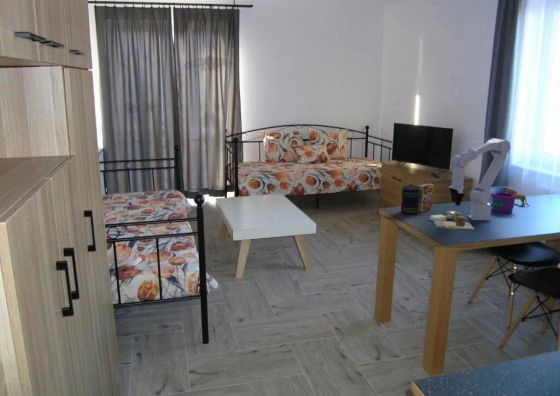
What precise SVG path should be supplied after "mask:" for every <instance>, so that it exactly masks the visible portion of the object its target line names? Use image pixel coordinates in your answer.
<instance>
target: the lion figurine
mask: <svg viewBox="0 0 560 396" xmlns="http://www.w3.org/2000/svg"><path fill="white" fill-rule="evenodd" d="M504 192H505V193H511V194H514V195H515V200H519V201H520V202H521V205H522V207H525V206H526V205H527V206H530V204H528V203H527V198H526V197H527V196H526V195H525V194H523V193H518V192H517V190H514V189H513V188H511V187H508V188H506V191H504Z"/></svg>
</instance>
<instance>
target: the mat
mask: <svg viewBox="0 0 560 396" xmlns="http://www.w3.org/2000/svg"><path fill="white" fill-rule="evenodd" d="M432 222H433V223H434V225H435V227H436V228H437V229H447V230H448V229H451V230H452V229H453V230H458V229H459V230H475V227H474V226H472V224H471V223H470V222H469V221H465V226H457V225H456V222H455V221H450V220H449V221H447V220H446V221H432Z"/></svg>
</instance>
